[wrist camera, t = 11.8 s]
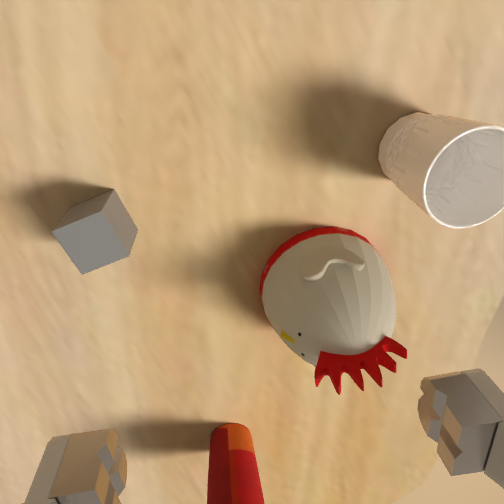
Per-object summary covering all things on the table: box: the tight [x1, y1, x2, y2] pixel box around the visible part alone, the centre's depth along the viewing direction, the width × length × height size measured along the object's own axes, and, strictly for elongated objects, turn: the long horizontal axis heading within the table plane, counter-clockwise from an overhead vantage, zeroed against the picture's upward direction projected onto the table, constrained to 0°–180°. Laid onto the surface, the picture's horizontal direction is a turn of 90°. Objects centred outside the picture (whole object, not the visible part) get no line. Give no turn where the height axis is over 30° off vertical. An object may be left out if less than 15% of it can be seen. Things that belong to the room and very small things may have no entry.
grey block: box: [51, 189, 138, 275], centre depth 35 cm, size 4×4×6 cm
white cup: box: [378, 112, 504, 229], centre depth 34 cm, size 8×8×10 cm
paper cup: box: [207, 423, 264, 504], centre depth 48 cm, size 8×8×14 cm
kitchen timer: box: [260, 227, 407, 395], centre depth 38 cm, size 14×14×15 cm
